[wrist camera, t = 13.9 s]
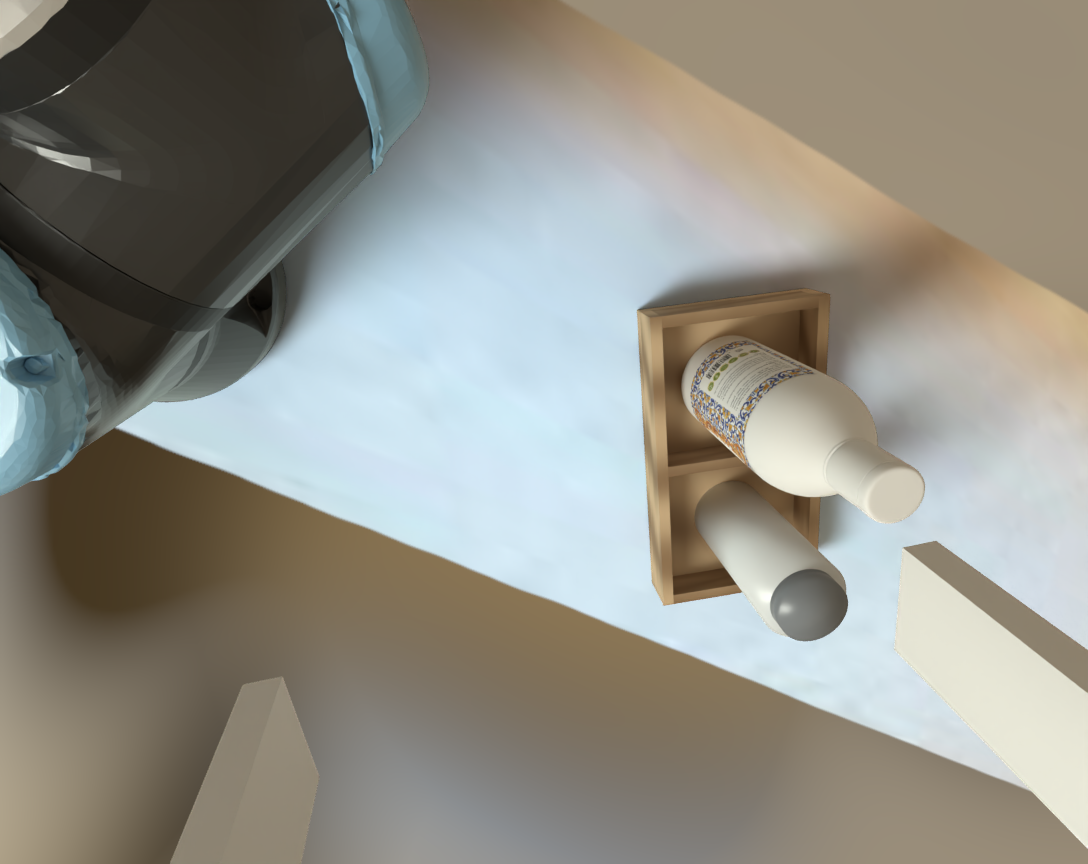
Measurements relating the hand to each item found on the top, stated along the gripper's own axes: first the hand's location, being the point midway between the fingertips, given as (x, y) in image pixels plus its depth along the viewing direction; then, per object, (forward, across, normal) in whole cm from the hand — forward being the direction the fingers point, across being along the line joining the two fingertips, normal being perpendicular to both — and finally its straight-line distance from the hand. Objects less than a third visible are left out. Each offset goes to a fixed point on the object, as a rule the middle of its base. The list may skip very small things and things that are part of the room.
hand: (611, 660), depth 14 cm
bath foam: (+33, +16, -6) cm, 37 cm away
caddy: (+34, +16, -12) cm, 39 cm away
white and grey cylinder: (+32, +16, -17) cm, 40 cm away
